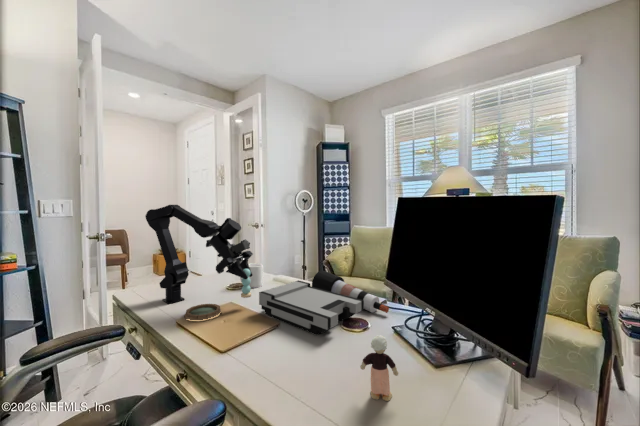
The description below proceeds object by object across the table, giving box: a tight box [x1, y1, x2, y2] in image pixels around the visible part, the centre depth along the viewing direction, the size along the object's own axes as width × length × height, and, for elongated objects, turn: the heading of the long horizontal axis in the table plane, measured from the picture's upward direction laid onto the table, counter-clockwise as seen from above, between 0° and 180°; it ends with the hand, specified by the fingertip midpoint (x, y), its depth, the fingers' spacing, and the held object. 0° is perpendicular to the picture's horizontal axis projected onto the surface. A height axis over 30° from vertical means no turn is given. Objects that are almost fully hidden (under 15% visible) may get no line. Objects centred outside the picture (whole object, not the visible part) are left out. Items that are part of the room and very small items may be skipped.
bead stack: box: [240, 269, 252, 299], centre depth 106 cm, size 4×4×11 cm
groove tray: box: [184, 303, 222, 320], centre depth 99 cm, size 12×12×2 cm
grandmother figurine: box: [359, 334, 399, 402], centre depth 58 cm, size 8×4×13 cm, turn 87°
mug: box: [239, 262, 264, 289], centre depth 134 cm, size 12×8×10 cm
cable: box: [311, 270, 390, 314], centre depth 111 cm, size 10×34×10 cm, turn 46°
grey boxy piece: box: [258, 280, 365, 336], centre depth 99 cm, size 21×32×8 cm, turn 51°
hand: (249, 277), depth 105 cm, fingers closed on bead stack, 3 cm apart
